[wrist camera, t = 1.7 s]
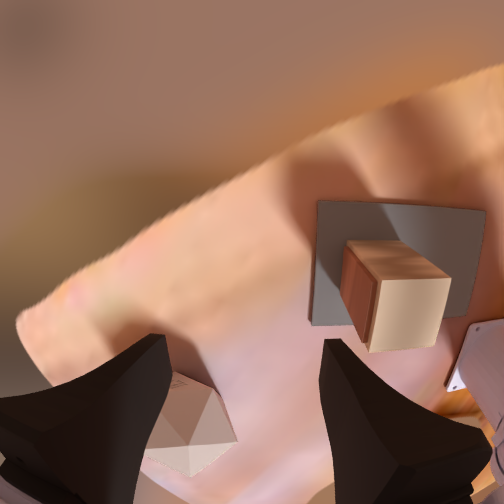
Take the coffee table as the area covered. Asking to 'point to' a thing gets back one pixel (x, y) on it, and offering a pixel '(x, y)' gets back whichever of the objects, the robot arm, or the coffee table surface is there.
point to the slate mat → (396, 229)
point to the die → (190, 428)
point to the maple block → (392, 295)
